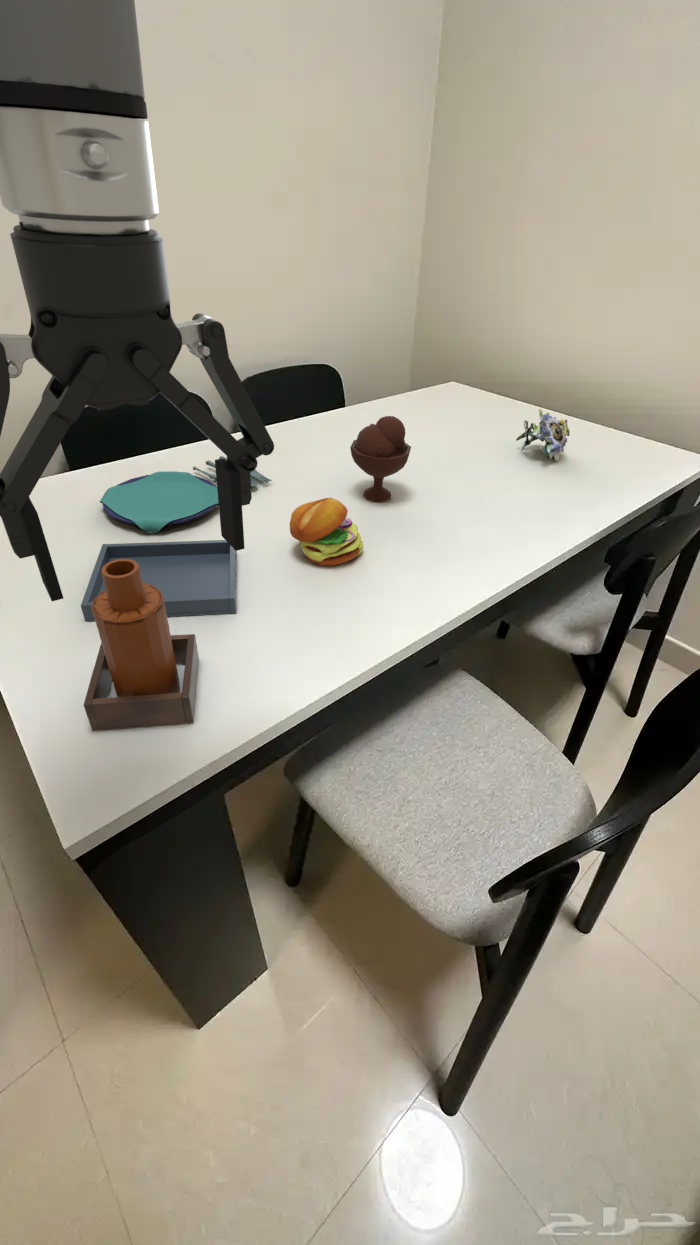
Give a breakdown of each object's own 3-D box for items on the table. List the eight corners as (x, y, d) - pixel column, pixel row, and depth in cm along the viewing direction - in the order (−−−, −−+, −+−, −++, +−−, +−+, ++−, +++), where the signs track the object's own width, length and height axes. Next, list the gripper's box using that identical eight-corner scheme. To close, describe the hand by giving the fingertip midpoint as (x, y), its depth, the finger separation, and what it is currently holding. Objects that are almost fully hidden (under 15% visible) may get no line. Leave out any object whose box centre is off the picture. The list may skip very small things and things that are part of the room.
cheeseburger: (366, 570, 89) (353, 513, 83) (298, 582, 90) (281, 527, 84) (363, 536, 97) (352, 482, 91) (301, 547, 98) (286, 494, 92)
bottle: (113, 716, 64) (75, 589, 53) (123, 674, 69) (90, 551, 59) (177, 711, 65) (152, 586, 54) (181, 670, 70) (159, 548, 60)
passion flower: (547, 483, 131) (560, 453, 120) (503, 464, 133) (512, 433, 122) (568, 444, 133) (583, 411, 122) (524, 426, 136) (535, 392, 124)
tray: (85, 621, 76) (80, 605, 75) (106, 558, 89) (102, 544, 87) (236, 613, 79) (234, 598, 78) (236, 553, 91) (235, 539, 90)
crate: (92, 731, 62) (83, 704, 60) (109, 664, 70) (101, 639, 68) (193, 722, 64) (189, 697, 61) (198, 658, 72) (195, 633, 69)
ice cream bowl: (387, 479, 116) (394, 403, 107) (416, 503, 108) (426, 423, 99) (339, 487, 112) (342, 408, 103) (365, 512, 104) (370, 430, 95)
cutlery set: (82, 505, 102) (79, 493, 100) (219, 459, 120) (217, 448, 118) (147, 547, 92) (144, 534, 90) (285, 490, 110) (285, 479, 108)
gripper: (-225, 229, 22) (-32, 647, 35) (326, 232, 34) (317, 545, 47) (-215, 210, 27) (-48, 585, 40) (265, 219, 39) (273, 507, 52)
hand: (149, 564), depth 44 cm, fingers open, 13 cm apart
